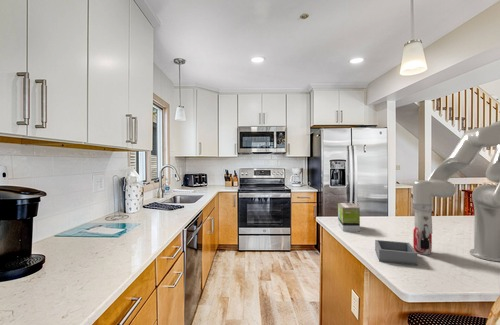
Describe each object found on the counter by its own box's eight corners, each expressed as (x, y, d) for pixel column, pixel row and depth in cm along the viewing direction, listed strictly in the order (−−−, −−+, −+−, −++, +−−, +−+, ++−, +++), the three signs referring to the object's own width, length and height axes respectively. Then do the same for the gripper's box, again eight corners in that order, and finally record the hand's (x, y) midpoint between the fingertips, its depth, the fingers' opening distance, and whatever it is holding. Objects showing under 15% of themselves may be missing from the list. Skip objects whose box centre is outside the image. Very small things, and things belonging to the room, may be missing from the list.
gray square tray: (409, 253, 118) (409, 242, 118) (417, 265, 105) (417, 253, 105) (375, 250, 123) (375, 239, 123) (379, 261, 110) (379, 249, 110)
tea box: (337, 225, 169) (337, 202, 169) (353, 225, 168) (353, 202, 167) (342, 231, 154) (342, 206, 154) (360, 232, 153) (360, 207, 153)
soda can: (434, 256, 115) (434, 229, 115) (417, 255, 116) (417, 228, 116) (427, 250, 122) (427, 225, 122) (410, 249, 123) (410, 224, 123)
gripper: (438, 211, 109) (438, 253, 110) (426, 204, 126) (426, 240, 126) (418, 210, 112) (418, 251, 112) (408, 203, 128) (408, 239, 128)
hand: (422, 245), depth 119 cm, fingers closed on soda can, 7 cm apart
